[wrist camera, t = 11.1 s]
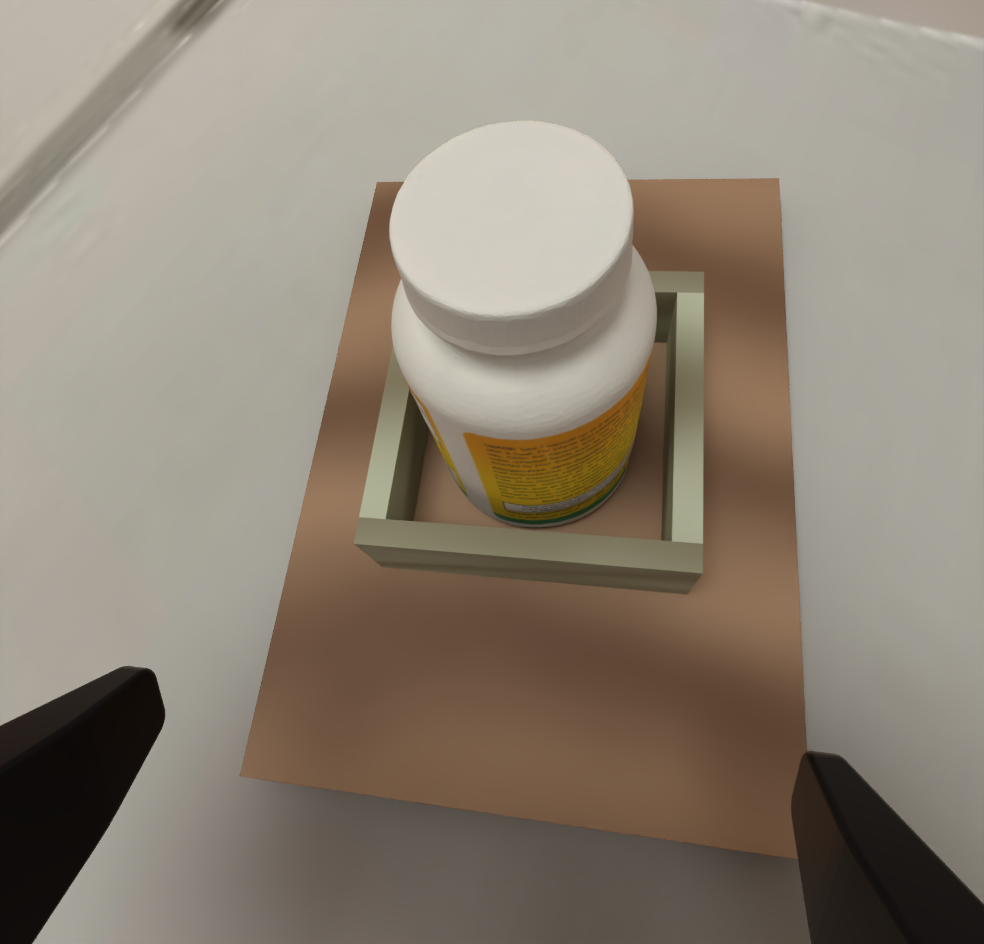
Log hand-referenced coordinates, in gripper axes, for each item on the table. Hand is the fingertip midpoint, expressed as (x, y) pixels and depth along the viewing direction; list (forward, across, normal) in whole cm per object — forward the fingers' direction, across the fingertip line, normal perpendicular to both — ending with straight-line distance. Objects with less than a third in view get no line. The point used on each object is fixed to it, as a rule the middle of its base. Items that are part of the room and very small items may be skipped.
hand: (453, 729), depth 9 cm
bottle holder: (+12, 0, +1) cm, 12 cm away
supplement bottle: (+12, 0, 0) cm, 12 cm away
